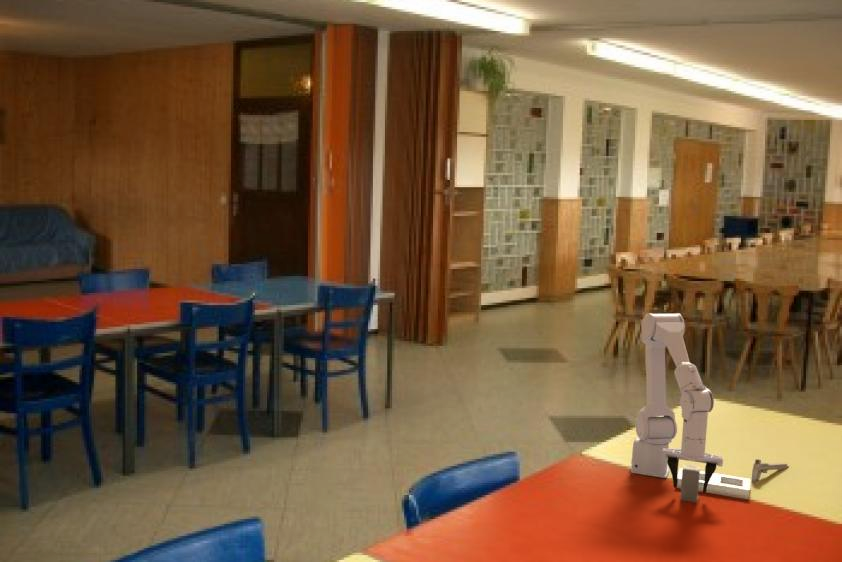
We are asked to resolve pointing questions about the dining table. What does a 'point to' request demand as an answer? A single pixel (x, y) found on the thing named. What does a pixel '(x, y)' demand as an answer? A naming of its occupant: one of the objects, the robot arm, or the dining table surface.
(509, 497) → the dining table surface
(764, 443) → the dining table surface
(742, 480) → the white slotted board
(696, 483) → the peg
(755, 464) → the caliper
